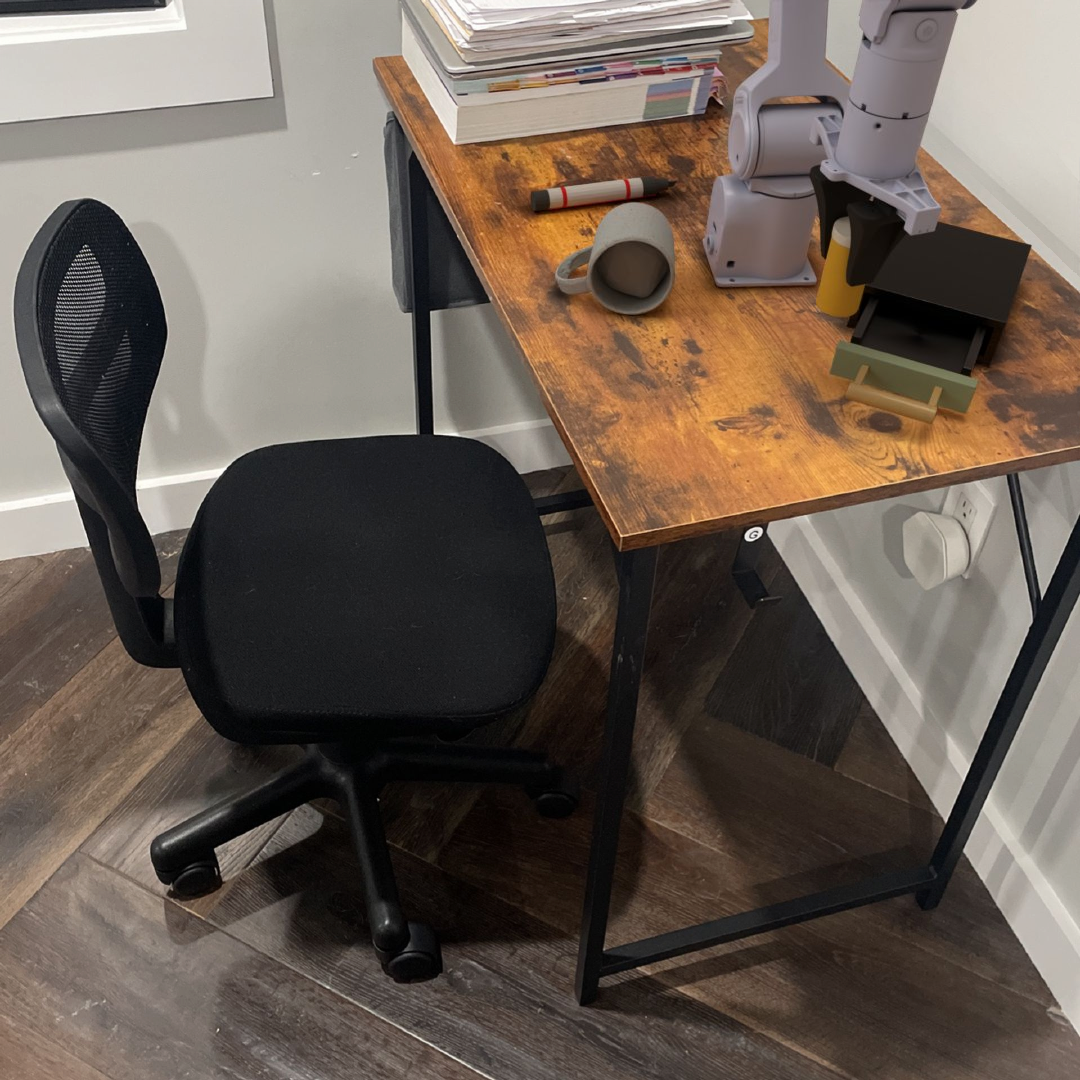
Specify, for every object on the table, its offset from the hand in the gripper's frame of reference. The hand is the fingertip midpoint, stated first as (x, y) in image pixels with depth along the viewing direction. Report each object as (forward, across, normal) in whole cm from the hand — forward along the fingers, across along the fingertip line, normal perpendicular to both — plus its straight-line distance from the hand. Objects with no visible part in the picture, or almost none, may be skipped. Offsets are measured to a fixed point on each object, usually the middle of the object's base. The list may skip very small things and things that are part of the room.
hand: (846, 268), depth 89 cm
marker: (+11, -32, -7) cm, 34 cm away
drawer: (+9, +2, +7) cm, 12 cm away
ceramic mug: (+11, -17, -12) cm, 23 cm away
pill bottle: (+3, 0, 0) cm, 3 cm away
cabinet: (+10, -6, +15) cm, 19 cm away
